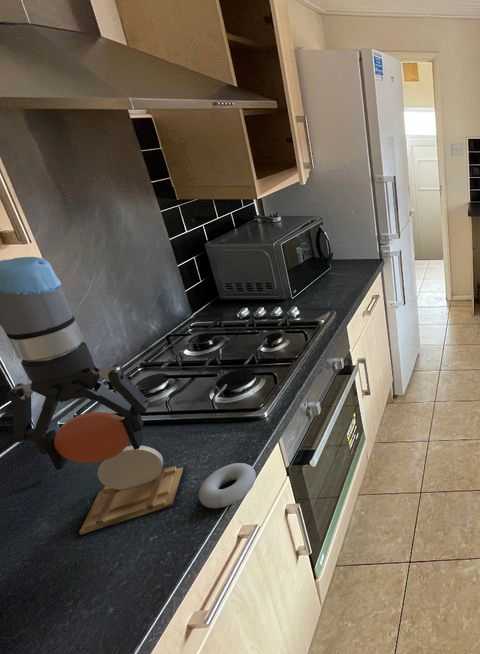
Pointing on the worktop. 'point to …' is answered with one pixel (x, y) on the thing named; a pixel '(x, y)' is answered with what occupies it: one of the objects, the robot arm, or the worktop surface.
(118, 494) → the coaster rack
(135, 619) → the worktop surface
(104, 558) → the worktop surface
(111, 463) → the cream coaster
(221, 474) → the donut
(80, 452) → the terracotta coaster
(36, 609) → the worktop surface
